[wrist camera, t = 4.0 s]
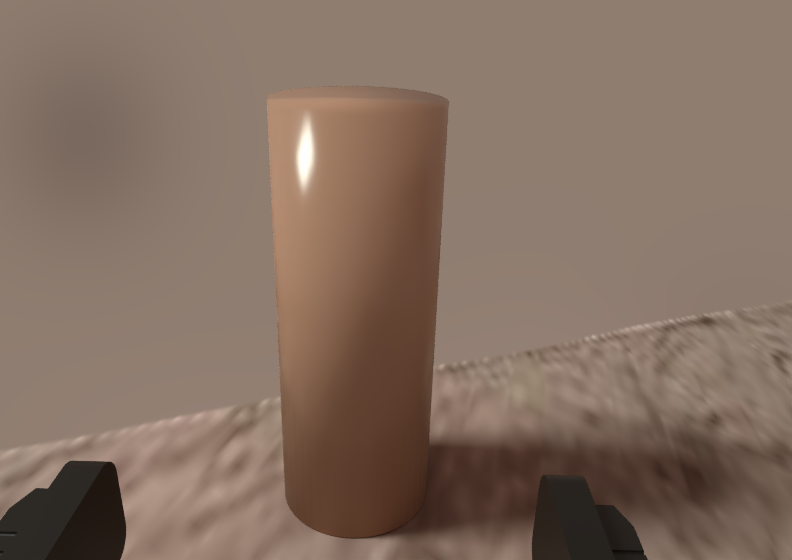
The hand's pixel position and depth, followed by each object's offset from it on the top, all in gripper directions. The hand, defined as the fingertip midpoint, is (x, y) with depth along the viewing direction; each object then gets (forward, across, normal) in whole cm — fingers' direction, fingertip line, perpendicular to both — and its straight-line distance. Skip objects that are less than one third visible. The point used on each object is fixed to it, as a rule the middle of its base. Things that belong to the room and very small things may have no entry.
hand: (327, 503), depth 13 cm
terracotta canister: (+10, 0, +8) cm, 13 cm away
